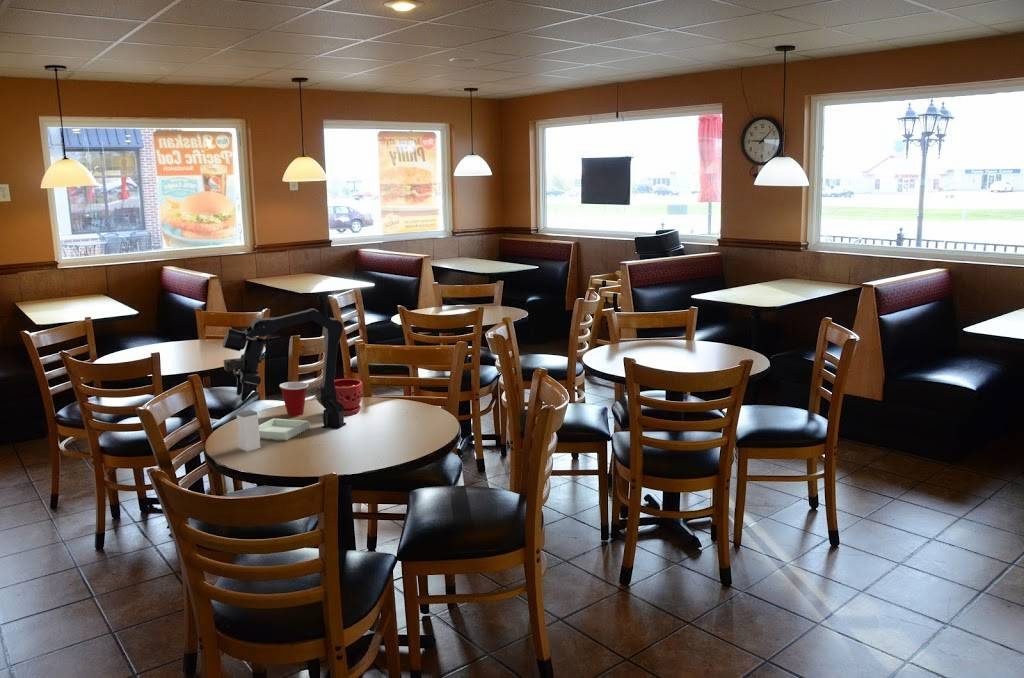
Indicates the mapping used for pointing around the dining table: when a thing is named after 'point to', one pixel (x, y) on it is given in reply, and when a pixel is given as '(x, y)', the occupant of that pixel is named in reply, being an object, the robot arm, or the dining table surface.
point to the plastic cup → (294, 397)
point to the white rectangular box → (248, 430)
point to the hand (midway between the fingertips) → (240, 397)
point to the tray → (282, 428)
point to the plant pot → (349, 395)
